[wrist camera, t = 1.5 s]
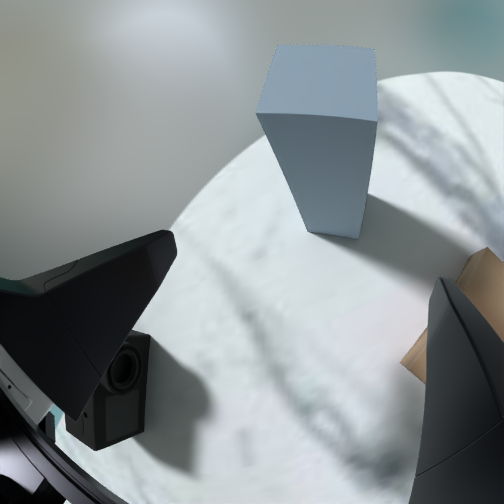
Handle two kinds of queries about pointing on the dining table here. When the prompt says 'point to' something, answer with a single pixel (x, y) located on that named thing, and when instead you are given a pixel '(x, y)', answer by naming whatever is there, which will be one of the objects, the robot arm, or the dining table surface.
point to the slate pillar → (323, 130)
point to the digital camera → (116, 398)
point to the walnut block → (480, 294)
